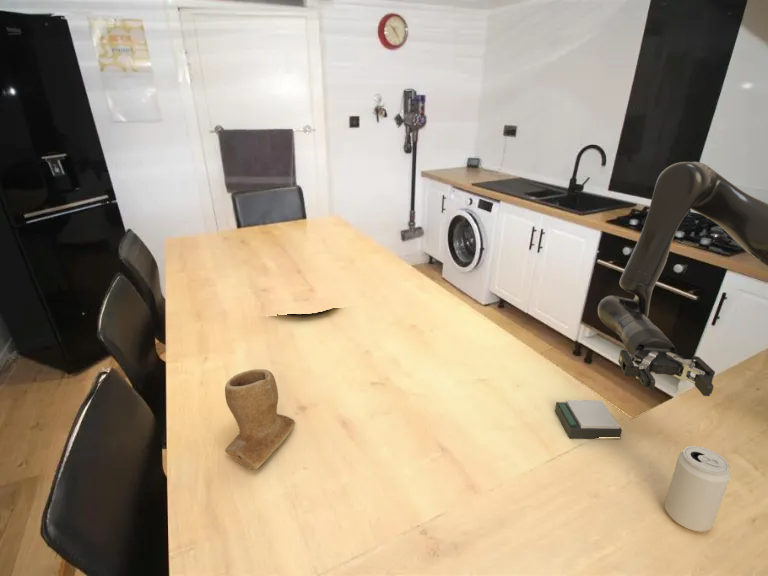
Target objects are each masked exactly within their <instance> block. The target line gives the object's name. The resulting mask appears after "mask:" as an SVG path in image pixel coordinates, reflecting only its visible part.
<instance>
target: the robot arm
mask: <svg viewBox="0 0 768 576" xmlns="http://www.w3.org/2000/svg"><path fill="white" fill-rule="evenodd" d="M690 210H692V211H694V212H696V213H698V214H699V215H701V216H703V217H705V218H707V219H709V220H710V221H712V222H714V223H715V224H716V225H717V226H718V227H720V228H721V229H722V230H724V231H725V232H726V233H727V234H728V235H729V237H731V238H732V240H733V241H734V242H735V243H736V244H737V245H738V246H739V247H740V248H741V249H743V251H745V252H746V253H747V254H749V255H750V256H751V257H753V259H755V260H757V261H759V262H760V263H762V264H763V265H765V266H767V267H768V203H767V202H766V201H763V200H761V199H758V198H757V197H753V196H752V195H750V194H748V193H746V192H745V191H744V190H741V188H739V187H737V186H736V185H734V184H733V183H732V182H730V181H729V180H727V179H726V178H725V177H724V176H722V175H721V174H719V173H718V172H717V171H716V170H715V169H713V168H712V167H710V166H709V165H708V164H705V163H703V162H699V161H680V162H676V163H673V164H671V165H669V166H667V167H666V168H664V169H663V171H661V172H660V174H659V175H658V177H657V179H656V182H655V185H654V190H653V193H652V196H651V201H650V204H649V209H648V212H647V215H646V218H645V221H644V224H643V227H642V229H641V231H640V235H639V236H638V240H637V242H636V244H635V246H634V247H633V251H632V252H631V255H630V257H629V259H628V261H627V263H626V266H625V267H624V270H623V271H622V274H621V276H620V278H619V286H620V287H621V289H623V290H624V291H626V292H628V293H630V294H632V295H634V298H633V299H631V298H626V297H623V296H618V295H608V296H604V297H603V298H602V299H601V300H600V302H599V303H598V306H597V315H598V317H599V319H600V321H601V322H602V323H603V324H604V325H605V326H606V327H607V328H608V329H609V330H611V331H613V332H614V333H615V334H617V335H618V337H619V338H620V339H621V341H622V344H623V346H624V348H625V349H620V351H619V357H618V360H617V361H618V364H619V367H620V368H621V370H622V373H623V375H624V376H625V377H629V378H630V377H632V376H633V377H635V378H636V379H637V380H639V383H641V385H642V386H643V387H644V388H646V389H647V390H648V391H654V390H655V386H656V379H655V377H654V376H653V373H654V375H655V374H656V375H667V376H672V377H674V378H677V379H678V380H681V381H683V382H685V381H688V382H690V383H691V384H694V386H695V387H696V389H697V390H698V391H699V392H700V394H701V395H702V396H703V397H711V395H712V393H713V390H714V384H713V379H714V377H715V374H716V371H715V370H714V369H713V368H712V367H710V366H709V364H707V363H706V362H705V361H704V360H703V359H702V358H701V357H700V356H698V355H697V356H696V355H693V356H692V357H691V359H686V358H684V356H681V355H679V354H678V352H677V350H676V347H675V345H674V344H673V343H672V341H670V339H669V338H668V337H667V336H666V335H665V334H664V332H663V331H662V330H661V329H660V328H659V327H658V326H657V325H655V324H654V323H653V322H652V320H651V319H650V318H648V317H649V313H650V312H649V311H650V305H651V299H652V296H653V295H652V294H653V290H654V288H655V286H656V284H657V282H658V280H659V278H660V276H661V274H662V273H663V270H664V268H665V266H666V264H667V261H668V257H669V254H670V250H671V246H672V243H673V240H674V238H675V236H676V233H677V231H678V229H679V227H680V225H681V224H682V221H683V220H684V218H685V217H686V216H687V215H688V213H689V212H690ZM682 369H683V370H682ZM681 370H682V373H681V372H680V371H681ZM692 373H693V374H695V375H694V376H692V375H691V374H692Z"/></svg>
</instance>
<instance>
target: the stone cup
mask: <svg viewBox="0 0 768 576" xmlns="http://www.w3.org/2000/svg"><path fill="white" fill-rule="evenodd" d="M278 391H279V390H278V385H277V381H276V379H275V376H274V374H273V372H272V371H270V370H268V369H263V368H255V369H250V370H249V369H248V370H246V371H242V372H240V373H237V374H235V375H234V376H232V377H230V379H229V380H227V382H226V384H225V386H224V395H225V396H224V397H225V403H226V405H227V407H228V409H229V411H230V412H231V414H232V416H233V417H234V420H235V422H236V424H237V426H238V429H239V434H238V435H236V437H235V438H234V439H233V440H232V441H231V442H230V444H228V446H227V447H226V448H225V450H224V451H225V453H226V454H227V455H229V456H230V457H231V459H232V460H234V461H235V462H236V463H238V464H239V465H240V466H243V467H245V468H246V469H250V470H257V469H259V468H260V467H261V466H262V465H263V464H264V463H265V462H266V461H267V460H268V459H269V458H270V457H271V456H272V455H273V454H274V453H275V451H276V450H277V449H278V448H279V447H280V446H281V444H282V443H284V441H285V440H286V438H287V437H288V436H289V435H290V434H291V432H292V431H293V430H294V427H295V425H296V421H295V420H294V419H293V418H291V417H289V416H288V415H287V416H286V415H283V414H279V413H278V403H279V392H278Z"/></svg>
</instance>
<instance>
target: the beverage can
mask: <svg viewBox="0 0 768 576" xmlns="http://www.w3.org/2000/svg"><path fill="white" fill-rule="evenodd" d="M730 479H731V472H730V464H729V462H728V461H727V460H726V459H725V458H724V457H723V456H722V455H720V454H719V453H718V452H716V451H714V450H712V449H709V448H707V447H702V446H700V445H699V446H698V445H690V446H685V447H684V448H683V450H682V451H681V452H680V453H679V454H678V456H677V460H676V463H675V466H674V470H673V473H672V477H671V481H670V483H669V488H668V491H667V495H666V498H665V502H664V508H665V511H666V512H667V515H669V517H670V518H671V519H672V520H673V521H674V522H675V523H677V524H678V525H680V526H681V527H682V528H685V529H688V530H690V531H694V532H698V533H699V532H700V533H704V532H705V533H706V532H709V531H710V530H712V529H713V527H714V524H715V522H716V519H717V516H718V513H719V510H720V508H721V504H722V503H723V499H724V496H725V494H726V490H727V489H728V488H727V487H728V485H729V482H730Z"/></svg>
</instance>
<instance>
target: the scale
mask: <svg viewBox="0 0 768 576" xmlns="http://www.w3.org/2000/svg"><path fill="white" fill-rule="evenodd" d="M554 412H555V415H556V416H557V418H558V419H559V421H560V423H561V426H562V427H563V429H564V431H565V432H566V435H567V436H568V438H569V439H570V440H571V439H572V440H596V439H595V438H599V437H620V438H621V436H622V432H623V429H622V428H621V425H620V424H619V422H618V421H617V420H616V418H615V417H614V415H613V414H612V412H610V410H609V408H608V407H607V406H606V405H605V403H604V402H603V400H601V399H600V400H599V399H598V400H593V399H592V400H591V399H589V400H588V399H569V400H568V399H566V400H565V402H564V401H559V402H555V408H554Z"/></svg>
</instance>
